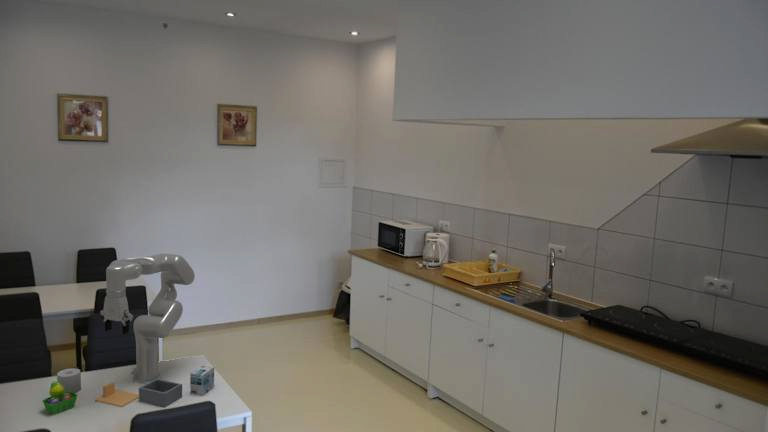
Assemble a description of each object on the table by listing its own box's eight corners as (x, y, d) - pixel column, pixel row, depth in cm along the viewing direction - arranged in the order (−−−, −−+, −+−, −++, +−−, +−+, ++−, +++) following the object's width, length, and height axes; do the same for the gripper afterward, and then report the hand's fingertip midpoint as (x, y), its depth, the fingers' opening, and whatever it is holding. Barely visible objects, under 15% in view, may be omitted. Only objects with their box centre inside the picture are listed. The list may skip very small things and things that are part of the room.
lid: (95, 403, 251) (95, 388, 250) (116, 392, 261) (115, 378, 260) (121, 410, 246) (121, 394, 245) (141, 398, 257) (141, 384, 256)
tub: (139, 403, 252) (138, 387, 251) (156, 393, 262) (156, 378, 261) (165, 409, 247) (164, 393, 246) (182, 399, 257) (182, 384, 256)
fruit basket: (51, 416, 237) (50, 390, 236) (40, 410, 242) (39, 385, 240) (78, 406, 247) (78, 381, 245) (67, 400, 251) (66, 376, 250)
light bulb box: (203, 398, 259) (203, 375, 258) (189, 396, 261) (189, 373, 259) (214, 388, 270) (214, 366, 268) (201, 386, 271) (201, 364, 269)
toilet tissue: (77, 381, 271) (76, 364, 270) (82, 392, 260) (81, 374, 259) (55, 385, 265) (54, 368, 264) (59, 396, 255) (58, 378, 254)
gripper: (93, 293, 249) (94, 331, 252) (125, 298, 244) (126, 337, 246) (107, 289, 256) (108, 326, 259) (138, 294, 251) (139, 332, 253)
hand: (117, 331), depth 252 cm, fingers open, 9 cm apart
